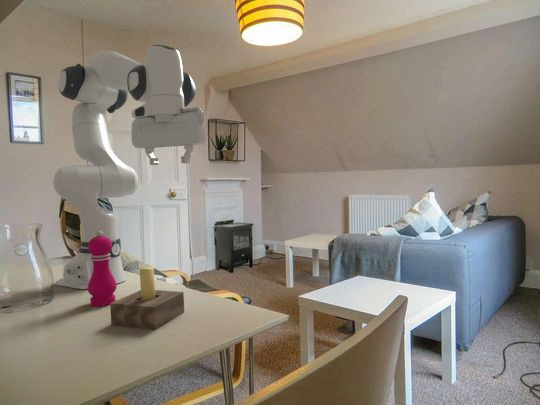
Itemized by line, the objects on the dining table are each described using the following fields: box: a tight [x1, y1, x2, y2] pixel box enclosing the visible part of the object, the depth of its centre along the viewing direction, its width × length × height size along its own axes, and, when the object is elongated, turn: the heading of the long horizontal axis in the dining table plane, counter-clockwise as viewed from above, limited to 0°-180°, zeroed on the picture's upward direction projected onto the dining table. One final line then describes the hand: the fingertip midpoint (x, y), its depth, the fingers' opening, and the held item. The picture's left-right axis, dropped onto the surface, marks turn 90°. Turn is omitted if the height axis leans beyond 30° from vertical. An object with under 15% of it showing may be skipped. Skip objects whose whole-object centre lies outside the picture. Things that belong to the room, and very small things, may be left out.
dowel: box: [139, 266, 156, 301], centre depth 93 cm, size 3×3×12 cm
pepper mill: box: [87, 231, 117, 308], centre depth 106 cm, size 7×7×20 cm
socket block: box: [109, 289, 185, 330], centre depth 94 cm, size 12×12×5 cm
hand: (169, 164), depth 101 cm, fingers open, 8 cm apart
